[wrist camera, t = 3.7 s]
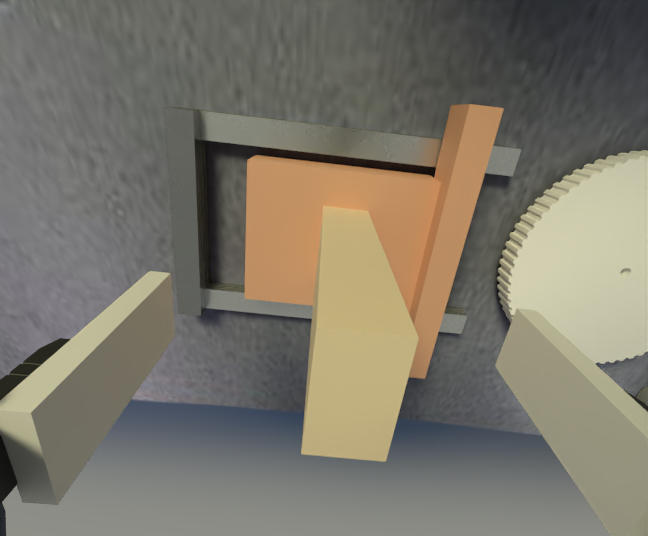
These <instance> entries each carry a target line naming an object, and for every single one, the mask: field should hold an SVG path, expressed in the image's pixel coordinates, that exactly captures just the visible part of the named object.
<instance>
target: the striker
mask: <svg viewBox="0 0 648 536" xmlns="http://www.w3.org/2000/svg"><path fill="white" fill-rule="evenodd" d="M503 110H504V108H498V107H490V106H482V105H474V104H463V105H451V108H450V112H449V116H448V120H447V125H446V129H445V133H444V137H443V142H442V146H441V150H440V154H439V159H438V163H437V167H436V171H435V176H434V177H432V176H430V175H425V174H417V173H408V172H400V171H391V170H383V169H374V168H365V167H357V166H348V165H340V164H331V163H322V162H314V161H305V160H297V159H288V158H280V157H271V156H262V155H255V156H253V157H251V158H250V159H248V160H247V204H246V253H245V299H253V300H263V301H272V302H282V303H292V304H302V305H311V306H313V313H312V326H311V338H310V350H309V363H308V375H307V388H306V400H305V412H304V425H303V438H302V450H301V454H303V455H315V456H327V457H337V458H349V459H360V460H361V459H362V460H371V461H384V462H386V459H387V455H388V452H389V448H390V444H391V441H392V437H393V433H394V429H395V425H396V422H397V418H398V414H399V411H400V407H401V403H402V399H403V396H404V392H405V388H406V384H407V381H408V377H412V378H423V379H425V377H426V373H427V370H428V366H429V363H430V360H431V356H432V353H433V349H434V346H435V343H436V339H437V336H438V332H439V329H440V325H441V322H442V319H443V315H444V312H445V308H446V305H447V301H448V298H449V295H450V291H451V288H452V284H453V281H454V278H455V274H456V271H457V267H458V264H459V260H460V257H461V254H462V250H463V247H464V243H465V240H466V236H467V233H468V230H469V226H470V223H471V219H472V216H473V213H474V209H475V206H476V202H477V199H478V195H479V192H480V189H481V185H482V182H483V178H484V175H485V171H486V168H487V165H488V161H489V158H490V154H491V151H492V148H493V144H494V141H495V137H496V134H497V130H498V127H499V124H500V120H501V117H502V113H503Z"/></svg>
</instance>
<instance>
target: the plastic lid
mask: <svg viewBox="0 0 648 536" xmlns="http://www.w3.org/2000/svg"><path fill="white" fill-rule="evenodd" d="M562 179H563V180H562V181H561V182H560V183H559V182H556V183H554V184H553V188H552V189H550V190H548V189H547V190H546V191H544V192H543V193H544V195H543V196H542V197H541V198H539V197H538V198H537V199H536V200H535V202H536V203H535V204H534V205H533V206H529V207H528V209H527V210H528V212H527V213H526V214H523V215H522V216H521V217H520V218H521V221H520V223H516V225H515V226H514V227H515V228H516V229H515V231H514V232H511V233H510V235H509V236H510V237H511V238H510V240H509V241H506V243H505V246H507V247H506V249H505V250H503V251H502V255H503V259H500V262H499V263H500V264H501V267H500V268H498V272H499V273H500V276H498V277H497V280H498V281H499V282H500V284H498V285H497V288H498V289H499V290H500V292H499V293H498V296H499V297H500V298H501V300H500V303H501V304H502V305H503V307H502V309H503V311H504V312H505V313H506V314H505V315H506V317H507V318H508V319H509V321H510V322H512V320H513V317H514V314H515V312H516V309H517V308H518V309H528V310H536V311H537V312H538V313H540V314H541V315H542V316H543V317H544V318H545V319H546V320H547V321H548V322H549V323H551V324H552V325H553V326H554V327H555V328H556V329H557V330H558V331H559V332H560V333H562V334H563V335H564V336H565V337H566V338H567V339H568V340H569V341H570V342H571V343H572V344H574V345H575V346H576V347H577V348H578V349H579V350H580V351H581V352H582V353H583V354H585V355H586V356H587V357H588V358H589V359H590V360H591V361H592V362H593V363H594V364H596V363H598V362H599V363H600V364H605V362H610V363H614V362H615V361H616V360H619V361H624V359H625V358H629V359H632V358H634V356H636V355H639V356H641V355H644V353H645V352H648V150H641V151H630V152H629V153H618V155H617V156H613V155H610V156H607V157H606V159H605V160H603V159H598V160H595V163H594V164H586V165H584V168H583V169H581V170H580V169H576V170H574V171H573V174H572V175H570V176H568V175H566V176H564V177H563V178H562Z"/></svg>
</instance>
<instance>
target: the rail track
mask: <svg viewBox="0 0 648 536" xmlns="http://www.w3.org/2000/svg"><path fill="white" fill-rule="evenodd" d="M164 114H165V128H166V143H167V157H168V171H169V186H170V200H171V215H172V229H173V244H174V258H175V273H176V287H177V302H178V314H188V315H198V316H201V315H202V314H203V312H204V310H205V309H206V308H210V309H220V310H230V311H240V312H250V313H259V314H269V315H279V316H289V317H299V318H309V319H312V313H313V306H311V305H302V304H292V303H282V302H272V301H263V300H253V299H245V286H241V285H231V284H222V283H212V282H210V265H209V225H208V185H207V145H206V140H207V141H216V142H224V143H233V144H241V145H250V146H258V147H267V148H275V149H284V150H292V151H301V152H309V153H318V154H326V155H335V156H343V157H352V158H360V159H369V160H377V161H386V162H394V163H403V164H411V165H420V166H428V167H437V163H438V159H439V154H440V150H441V146H442V142H443V139H436V138H428V137H420V136H411V135H403V134H395V133H386V132H378V131H370V130H361V129H353V128H345V127H336V126H328V125H320V124H312V123H303V122H295V121H287V120H278V119H270V118H262V117H253V116H245V115H237V114H228V113H220V112H212V111H203V110H195V109H187V108H177V107H164ZM521 150H522V149H517V148H511V147H503V146H494V145H493V148H492V151H491V154H490V158H489V161H488V165H487V168H486V171H485V173H488V174H497V175H505V176H513V174H514V171H515V168H516V165H517V162H518V159H519V156H520V153H521ZM466 319H467V315H466V313H465V312H464V310H463V309H462V308H453V307H446V308H445V312H444V315H443V319H442V322H441V325H440V329H439V332H447V333H457V334H462V331H463V328H464V325H465V322H466Z"/></svg>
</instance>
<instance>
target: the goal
mask: <svg viewBox="0 0 648 536" xmlns="http://www.w3.org/2000/svg"><path fill="white" fill-rule="evenodd" d="M636 398H637V399H639V400H640V401H642V402H643V403H645V404H646V405H647V406H648V386H647V387H645V388H643V389H642V390H641V391H639V393H638V394H637V396H636Z"/></svg>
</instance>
